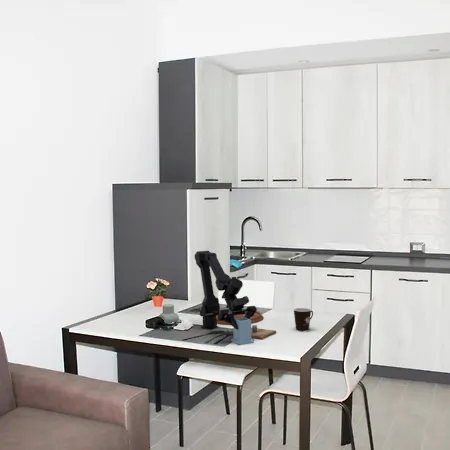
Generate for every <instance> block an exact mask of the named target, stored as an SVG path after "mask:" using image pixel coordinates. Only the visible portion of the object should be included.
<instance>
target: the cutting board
mask: <svg viewBox="0 0 450 450" xmlns="http://www.w3.org/2000/svg"><path fill="white" fill-rule="evenodd" d="M223 309H224V308H223ZM223 309H220V310H219V312H220V311H221V310H223ZM242 310H246V308H242ZM216 318H217V325H220V326H221V325H222V326H231V325H230V324H229V323H227V322H225V321H219V320H218V315H216ZM237 318H244V315H243V314H242V315H234V319H237ZM250 320H251V325H253V324H257V323H260V322H262V321H263V320H264V316H263V314H262V313H261V312H260V311H258V310H257V311H256V312H255V314H254V316H252V317H250Z"/></svg>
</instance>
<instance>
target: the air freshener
mask: <svg viewBox="0 0 450 450" xmlns="http://www.w3.org/2000/svg"><path fill="white" fill-rule="evenodd" d="M158 317H161V318H162V319H163V320H164V322H165V323H172V322H176V323H177V321H180V317H179V314H178V313H176V312H175V306H174V304H173V303H167V304H166V303H164V304H163V305H162V312H161V313H160V314H159V315H158Z"/></svg>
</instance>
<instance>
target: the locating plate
mask: <svg viewBox="0 0 450 450" xmlns="http://www.w3.org/2000/svg"><path fill="white" fill-rule="evenodd" d="M275 334H277V330H274V329H265V328H258V325H256V324H254V325H253V324H252V325H251V339H253V340H254V339H255V340H261V341H262V340H264V339H266V338H267V339H268V338H269V337H271V336H273V335H275ZM232 336H233V337H234V332H232Z"/></svg>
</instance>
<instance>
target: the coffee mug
mask: <svg viewBox="0 0 450 450" xmlns="http://www.w3.org/2000/svg"><path fill="white" fill-rule="evenodd" d="M293 316H294V324H295V330H296V331H297V330H298V331H297V332H308V331H309V330H310V322H311V320H312V318H313V316H314V311H313V310H312V309H311V308H307V307H296V308H294V309H293ZM307 330H308V331H307Z"/></svg>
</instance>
